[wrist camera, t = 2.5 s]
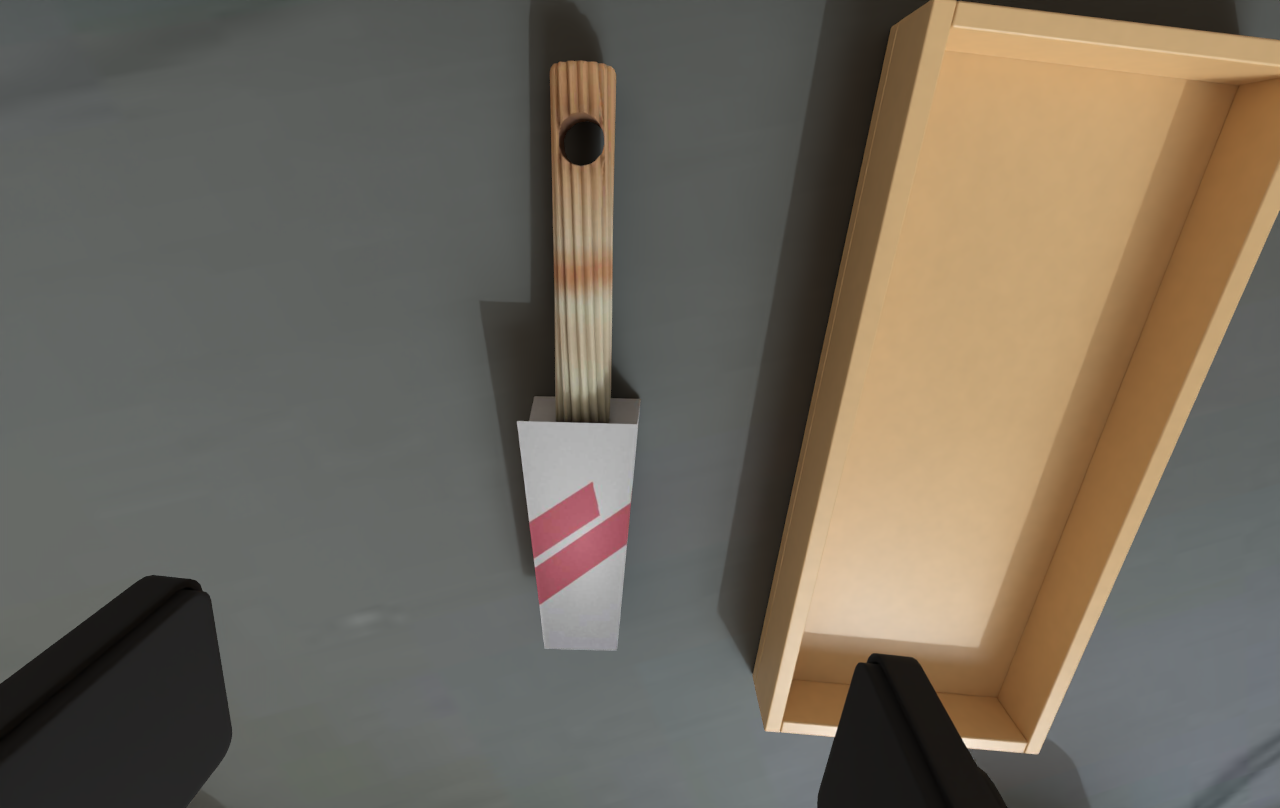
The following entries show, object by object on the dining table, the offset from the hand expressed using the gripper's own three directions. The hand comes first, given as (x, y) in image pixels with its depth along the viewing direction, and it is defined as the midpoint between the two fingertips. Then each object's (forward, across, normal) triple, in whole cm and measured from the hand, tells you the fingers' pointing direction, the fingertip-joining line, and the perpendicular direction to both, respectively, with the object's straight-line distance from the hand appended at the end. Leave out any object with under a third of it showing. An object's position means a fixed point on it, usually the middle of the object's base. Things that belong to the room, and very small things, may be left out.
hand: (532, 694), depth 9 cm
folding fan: (+14, +1, 0) cm, 14 cm away
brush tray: (+14, -13, 0) cm, 19 cm away
